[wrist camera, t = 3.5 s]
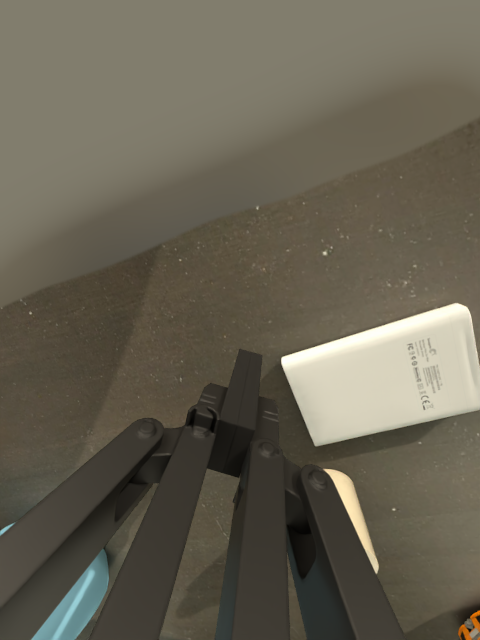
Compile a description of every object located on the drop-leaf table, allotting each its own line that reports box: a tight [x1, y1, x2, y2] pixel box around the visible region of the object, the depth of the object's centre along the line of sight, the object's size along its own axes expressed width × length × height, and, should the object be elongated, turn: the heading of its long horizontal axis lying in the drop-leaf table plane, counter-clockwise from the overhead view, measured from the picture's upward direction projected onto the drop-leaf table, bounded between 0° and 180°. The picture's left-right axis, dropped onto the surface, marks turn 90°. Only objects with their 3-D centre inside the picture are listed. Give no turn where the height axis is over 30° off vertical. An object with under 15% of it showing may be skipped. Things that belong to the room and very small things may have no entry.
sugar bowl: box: [0, 522, 109, 640], centre depth 28 cm, size 15×15×12 cm
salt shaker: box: [324, 469, 378, 574], centre depth 21 cm, size 5×5×8 cm
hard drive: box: [281, 303, 480, 446], centre depth 19 cm, size 2×8×12 cm
